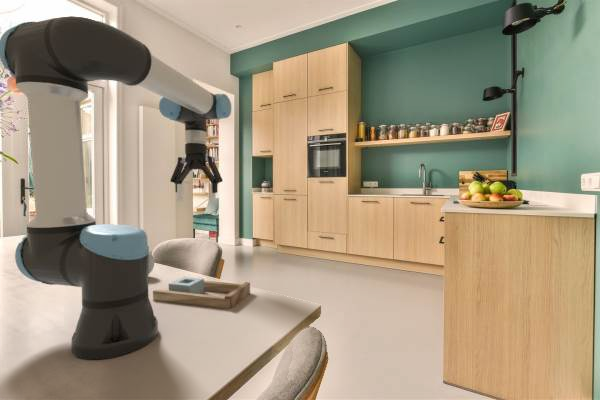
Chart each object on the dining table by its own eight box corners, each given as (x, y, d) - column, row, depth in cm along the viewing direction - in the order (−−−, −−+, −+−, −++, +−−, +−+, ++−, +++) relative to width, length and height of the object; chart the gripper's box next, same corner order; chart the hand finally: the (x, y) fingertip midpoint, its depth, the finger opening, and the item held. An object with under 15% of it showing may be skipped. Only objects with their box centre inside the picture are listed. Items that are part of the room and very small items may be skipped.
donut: (156, 276, 108) (156, 248, 107) (151, 278, 104) (150, 250, 104) (130, 275, 109) (130, 247, 108) (124, 277, 105) (123, 249, 105)
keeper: (189, 299, 84) (189, 285, 84) (168, 297, 86) (168, 283, 86) (203, 291, 91) (203, 278, 91) (184, 289, 93) (184, 276, 93)
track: (229, 308, 78) (229, 296, 78) (153, 299, 84) (152, 288, 84) (250, 293, 90) (250, 282, 90) (181, 286, 96) (181, 276, 96)
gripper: (231, 144, 110) (231, 201, 110) (173, 146, 116) (174, 201, 117) (221, 140, 102) (221, 202, 103) (160, 143, 109) (160, 201, 110)
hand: (196, 201), depth 110 cm, fingers open, 13 cm apart
